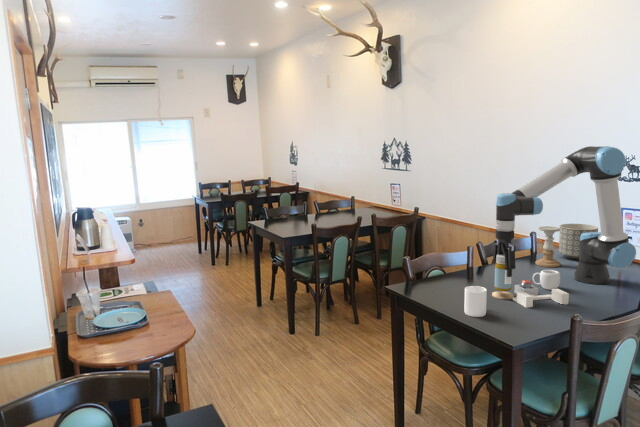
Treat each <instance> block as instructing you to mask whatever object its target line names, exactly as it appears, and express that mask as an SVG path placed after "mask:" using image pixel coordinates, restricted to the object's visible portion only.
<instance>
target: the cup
mask: <svg viewBox="0 0 640 427" xmlns="http://www.w3.org/2000/svg"><path fill="white" fill-rule="evenodd" d="M487 290H488V289H487V288H486V287H483V286H479V285H469V286H465V287H464V301H463V302H464V303H463V304H464V306H463V307H464V308H463V309H464V310H463V311H464V314H465V315H467V316H469V317H473V318H483V317H484V316H486V313H487V294H488V292H487Z"/></svg>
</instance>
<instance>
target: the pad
mask: <svg viewBox="0 0 640 427" xmlns="http://www.w3.org/2000/svg"><path fill="white" fill-rule="evenodd" d="M514 294H515V293H512V292H510V291H499V290H497V291H496V290H495V291H493V292H492V293H491V296H492V297H493V298H495V299H497V300H498V299H499V300H513V297H515V295H514Z"/></svg>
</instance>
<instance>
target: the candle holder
mask: <svg viewBox="0 0 640 427" xmlns="http://www.w3.org/2000/svg"><path fill="white" fill-rule="evenodd" d="M538 231H541V232H543V233H544V234H545V236H544V237H543V240H544V243H543V247H542V248H543V250H542V252H541V254H543V258H539V259H538V260H536V261H535V263H534V264H535V265H536V266H538V267H543V268H559V267H561V262H560V261H558V260H557V259H555V258H554V254H555V251H554V250H555V245H554V240H555V238H554V237H553V236H554V234H555V233H556V232H557V233H558V232H560V227H557V226H548V225H547V226H544V225H543V226H540V227H538Z"/></svg>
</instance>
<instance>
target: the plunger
mask: <svg viewBox="0 0 640 427" xmlns="http://www.w3.org/2000/svg"><path fill="white" fill-rule="evenodd" d="M520 285H521V287H522V288H524V289H528V288H531V285H532V281H531V280H528V279H521V284H520Z"/></svg>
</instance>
